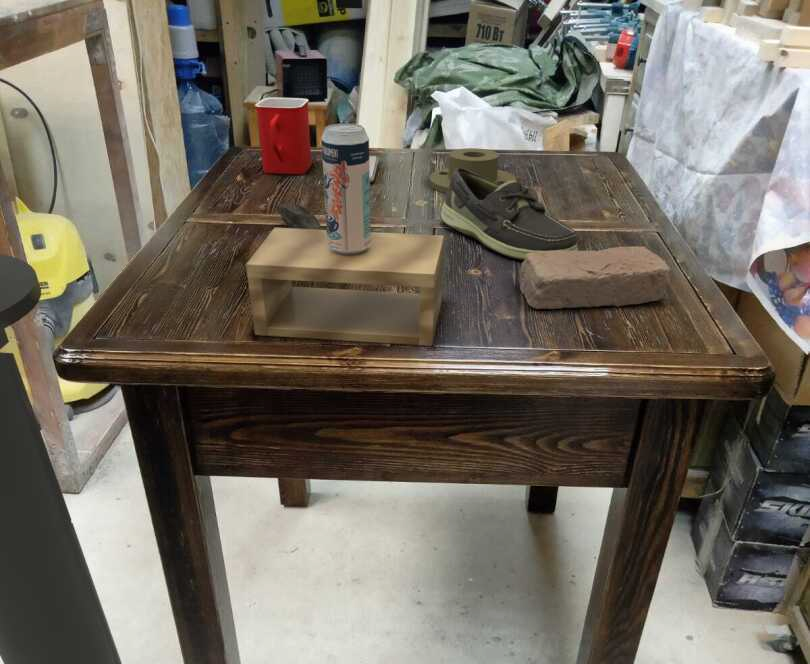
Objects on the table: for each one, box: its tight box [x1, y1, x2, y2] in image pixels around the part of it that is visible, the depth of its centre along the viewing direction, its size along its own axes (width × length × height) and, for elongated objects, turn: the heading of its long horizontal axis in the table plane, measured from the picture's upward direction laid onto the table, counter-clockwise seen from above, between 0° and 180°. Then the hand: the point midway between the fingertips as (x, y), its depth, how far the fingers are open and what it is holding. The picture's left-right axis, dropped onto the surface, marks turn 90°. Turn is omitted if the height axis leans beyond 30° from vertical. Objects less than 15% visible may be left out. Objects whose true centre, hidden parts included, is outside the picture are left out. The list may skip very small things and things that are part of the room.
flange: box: [428, 147, 517, 194], centre depth 131 cm, size 5×15×15 cm
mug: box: [254, 96, 313, 176], centre depth 134 cm, size 12×8×11 cm
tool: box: [275, 202, 326, 230], centre depth 107 cm, size 21×8×3 cm, turn 30°
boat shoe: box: [439, 168, 579, 261], centre depth 107 cm, size 10×25×8 cm, turn 46°
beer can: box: [321, 123, 372, 254], centre depth 80 cm, size 5×5×12 cm
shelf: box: [245, 227, 445, 347], centre depth 86 cm, size 20×12×8 cm, turn 83°
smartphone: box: [369, 155, 379, 183], centre depth 137 cm, size 7×1×15 cm
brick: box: [518, 245, 671, 310], centre depth 93 cm, size 16×8×5 cm, turn 98°
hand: (355, 2), depth 86 cm, fingers open, 13 cm apart
